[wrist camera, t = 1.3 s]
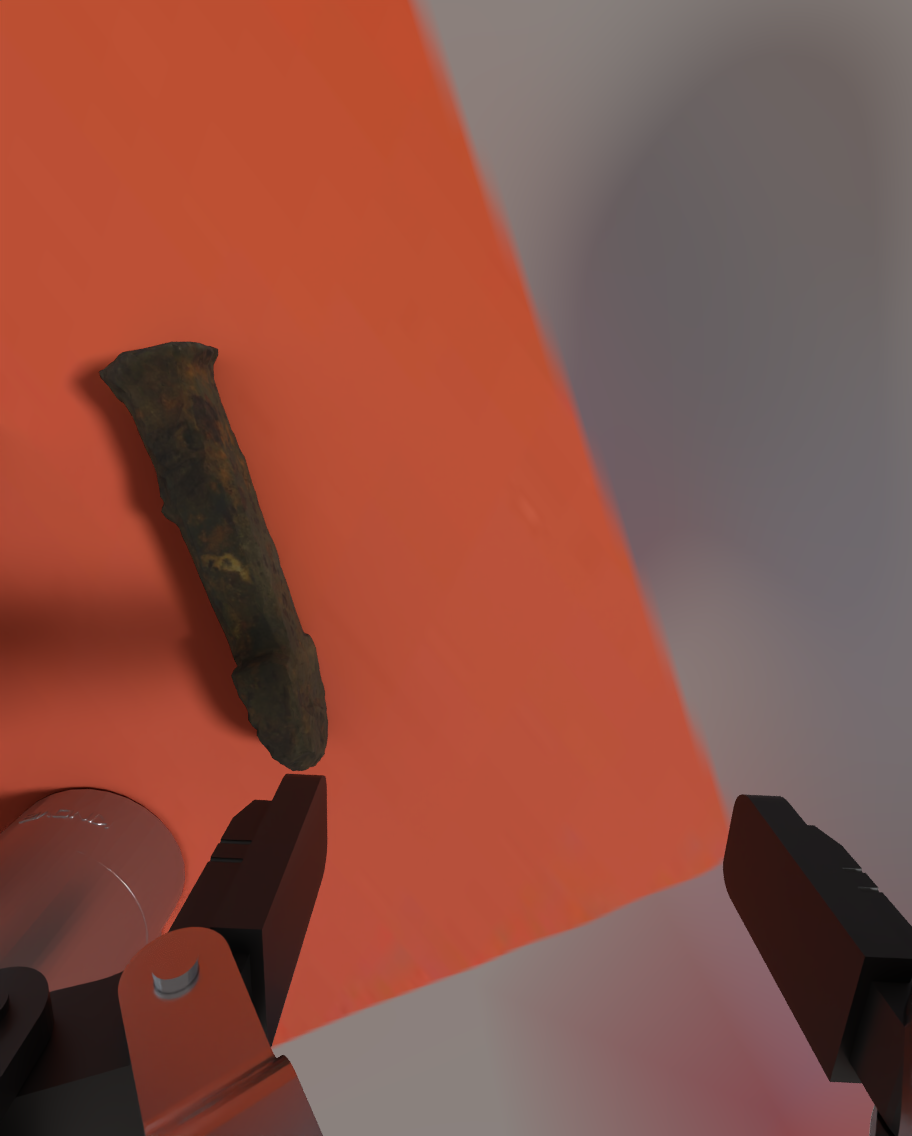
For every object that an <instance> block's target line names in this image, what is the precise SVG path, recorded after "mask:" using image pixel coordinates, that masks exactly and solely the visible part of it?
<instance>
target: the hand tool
mask: <svg viewBox="0 0 912 1136" xmlns="http://www.w3.org/2000/svg"><path fill="white" fill-rule="evenodd" d="M217 356H218V349H216V348H214V347H211V346H206V345H203V344H201V343H196V342H169V343H165V344H160V345H156V346H152V347H148V348H144V349H139V350H133V351H127V352H123V353H121V354H120V355H119V356H118V357H117V358H116V359H115V361H113V362H112V363H110V364H109V365H108V366H107V367H106V368H105V369H103V370H101V371H99V372H100V377H101V378H102V380H103V381H104V382H105V383H106V384H107V385H108V386H109V387H110V389H111V390H112V392H113V393H114V394H115V396H116V397H117V398H118V399H119V400H120V401H121V402H123V403H124V404H125V405H126V407H127V408H128V410H129V412H130V413H131V415H132V416H133V419H134V421H135V423H136V426H137V428H138V431H139V434H140V436H141V438H142V440H143V442H144V446H145V448H146V450H147V452H148V454H149V456H150V458H151V460H152V463H153V465H154V468H155V470H156V473H157V479H158V484H159V489H160V497H161V498H162V499H163V501H164V505H163V507H162V511H161V512H162V513H163V514H164V516H165V517H166V518H167V519H169V520H170V521H172V522H173V523H175V524H176V525H177V526H178V527H179V528H180V531H181V534H182V537H183V539H184V541H185V543H186V545H187V547H188V550H189V552H190V554H191V556H192V559H193V561H194V564H195V566H196V569H197V571H198V574H199V577H200V579H201V581H202V583H203V586H204V588H205V590H206V592H207V595H208V597H209V600H210V603H211V605H212V607H213V609H214V612H215V614H216V616H217V618H218V620H219V622H220V624H221V626H222V629H223V631H224V633H225V635H226V637H227V640H228V643H229V645H230V648H231V651H232V655H233V657H234V660H235V662H236V664H237V666H238V667H237V668H236V669H235V670H234V671H233V673H232V675H231V676H232V679H233V682H234V685H235V687H236V689H237V692H238V695H239V698H240V699H241V700H242V702H243V703H244V705H245V706H246V708H247V710H248V720H249V722H250V723H251V725H252V726H253V727H254V728H255V729H257V736H258V738H259V740H260V741H261V743H262V744H263V745H264V746H265V747H266V748H267V750H268V751H269V752H270V754H271V756H272V758H273V759H275V760H277V761H278V762H279V763H280V764H282V765H285V766H286V767H287V768H289V769H291V770H292V771H296V770H298V771H303V770H306V769H308V768H309V767H313V766H316V764H317V763H318V762H319V761H320V760H321V758H322V757H323V755H324V754H325V748H326V745H327V739H328V738H327V737H328V719H327V713H326V710H327V708H326V702H325V690H324V686H323V683H322V680H321V675H320V671H319V663H318V658H317V652H316V647H315V645H314V642H313V640H312V638H311V637H310V635H308V634H305V633H304V632H303V630H302V627H301V624H300V621H299V618H298V615H297V613H296V610H295V607H294V604H293V601H292V598H291V594H290V591H289V588H288V585H287V582H286V579H285V577H284V574H283V571H282V568H281V566H280V561H279V556H278V553H277V550H276V547H275V544H274V542H273V540H272V538H271V536H270V534H269V532H268V529H267V527H266V524H265V521H264V518H263V515H262V512H261V509H260V507H259V504H258V500H257V495H256V492H255V490H254V487H253V484H252V480H251V477H250V474H249V470H248V467H247V463H246V460H245V457H244V455H243V454H242V452H241V450H240V449H239V446H238V443H237V440H236V437H235V435H234V433H233V431H232V430H231V427H230V424H229V421H228V418H227V415H226V413H225V410H224V408H223V405H222V403H221V400H220V397H219V393H218V390H217V387H216V384H215V381H214V371H213V365H214V363H215V361H216V358H217Z"/></svg>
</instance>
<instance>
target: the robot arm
mask: <svg viewBox="0 0 912 1136" xmlns="http://www.w3.org/2000/svg"><path fill="white" fill-rule="evenodd" d="M326 855H327V786H326V778H325V776H323V775H302V774H286V775H285V776H284V777H283V779H282V781H281V783H280V785H279V787H278V789H277V791H276V793H275V796H274V798H273V800H272V801H267V800H254V801H252V802H251V803H250V804H249V805H248V806H246V807H245V808H244V809H243V810H242V811H240V812H239V813H238V814H237V815H236V816H234V817H233V819H232V820H231V822H230V824H229V826H228V827H227V829H226V831H225V833H224V834H223V836H222V838H221V842H220V843H218V845H217V847H216V849H215V850H214V852H213V854H212V856H211V860H210V862H208V863H207V864H206V866H205V868H204V870H203V872H202V873H201V875H200V877H199V879H198V880H197V882H196V884H195V886H194V887H193V889H192V891H191V893H190V894H189V896H188V898H187V900H186V902H185V903H184V905H183V907H182V909H181V910H180V912H179V914H178V916H177V917H176V919H175V921H174V923H173V924H172V926H171V928H170V930H169V931H168V933H166V934H164V935H162V936H161V930H162V929H163V927H164V925H165V924H166V922H167V920H168V918H169V917H170V915H171V913H172V912H173V910H174V908H175V906H176V904H177V902H178V900H179V898H180V896H181V895H182V891H183V886H184V881H185V869H184V861H183V858H182V854H181V851H180V848H179V846H178V844H177V842H176V841H175V839H174V837H173V835H172V834H171V832H170V831H169V830H168V829H167V828H166V826H165V825H164V824H163V823H162V822H161V821H160V819H158V818H157V817H156V816H155V815H153V814H152V813H151V812H150V811H148V810H147V809H146V808H145V807H143V806H141V805H139V804H137V803H135V802H134V801H132V800H130V799H128V798H126V797H123V796H120V795H117V794H114V793H111V792H106V791H99V790H93V789H76V790H67V791H63V792H59V793H55V794H52V795H50V796H48V797H45V798H43V799H41V800H39V801H37V802H36V803H35V804H34V805H32V806H31V807H30V808H29V809H28V810H26V811H25V812H24V813H23V814H22V815H21V816H20V817H18V818H17V819H16V820H15V821H14V822H13V823H12V824H11V825H10V826H8V827H7V828H6V829H5V830H4V831H3V832H2V833H1V834H0V1136H323V1135H322V1133H321V1130H320V1128H319V1125H318V1123H317V1121H316V1118H315V1116H314V1114H313V1111H312V1109H311V1107H310V1104H309V1102H308V1100H307V1098H306V1095H305V1093H304V1091H303V1088H302V1086H301V1084H300V1081H299V1079H298V1077H297V1075H296V1072H295V1070H294V1068H293V1066H292V1065H291V1063H290V1061H289V1060H288V1058H287V1057H286V1056H284V1055H282V1056H280V1057H278V1058H276V1057H275V1055H274V1054H273V1052H272V1049H271V1046H272V1043H273V1040H274V1036H275V1033H276V1030H277V1027H278V1023H279V1020H280V1017H281V1013H282V1010H283V1007H284V1003H285V1000H286V997H287V994H288V990H289V987H290V984H291V980H292V977H293V974H294V970H295V967H296V964H297V961H298V957H299V954H300V951H301V947H302V944H303V941H304V937H305V934H306V931H307V928H308V924H309V921H310V918H311V914H312V911H313V908H314V904H315V901H316V898H317V895H318V891H319V888H320V885H321V881H322V878H323V874H324V869H325V863H326ZM723 873H724V880H725V885H726V888H727V892H728V894H729V896H730V899H731V900H732V902H733V904H734V906H735V908H736V910H737V912H738V913H739V915H740V917H741V919H742V921H743V922H744V925H745V926H746V928H747V930H748V932H749V934H750V936H751V937H752V939H753V941H754V943H755V945H756V946H757V948H758V950H759V952H760V954H761V956H762V958H763V960H764V961H765V963H766V965H767V967H768V969H769V970H770V972H771V974H772V976H773V978H774V980H775V982H776V983H777V985H778V987H779V989H780V991H781V993H782V995H783V996H784V998H785V1000H786V1002H787V1004H788V1006H789V1007H790V1009H791V1011H792V1013H793V1015H794V1017H795V1018H796V1020H797V1022H798V1024H799V1025H800V1028H801V1030H802V1031H803V1033H804V1035H805V1037H806V1038H807V1041H808V1042H809V1044H810V1046H811V1048H812V1050H813V1052H814V1053H815V1055H816V1057H817V1059H818V1061H819V1063H820V1064H821V1066H822V1068H823V1070H824V1072H825V1074H826V1076H827V1077H828V1079H829V1081H830V1082H847V1083H848V1082H849V1083H862V1084H863V1085H864V1087H865V1089H866V1091H867V1092H868V1094H869V1096H870V1098H871V1099H872V1101H873V1102H874V1104H875V1105H874V1109H873V1112H872V1116H871V1123H870V1134H869V1136H912V926H911V925H910V924H909V923H908V922H907V920H906V919H905V918H904V917H903V916H902V915H901V914H900V912H899V911H898V910H897V909H896V908H895V906H894V905H893V904H892V903H891V902H890V901H889V900H888V898H887V897H886V896H885V895H884V894H883V893H882V892H879V891H878V887H877V886H876V885H875V883H873V881H872V880H871V879H870V878H869V876H868V875H867V874H866V873H862V870H861V867H860V866H859V865H858V864H857V862H856V861H855V860H854V859H853V858H852V857H851V856H850V855H849V853H848V852H847V851H846V850H845V849H844V847H843V846H842V845H840V844H839V843H837V842H836V841H835V840H833V839H832V838H830V837H829V836H828V835H827V834H825V833H824V832H822V831H821V830H820V829H818V828H817V827H815V826H813V825H812V826H811V825H807V824H806V823H805V822H804V821H803V820H802V818H801V817H800V816H799V815H798V814H797V812H796V811H795V810H794V809H793V807H792V806H791V805H790V804H789V803H788V801H787V800H786V799H784V798H783V797H781V796H762V795H739V796H738V797H737V799H736V801H735V804H734V809H733V814H732V819H731V824H730V829H729V834H728V840H727V845H726V850H725V855H724V861H723Z"/></svg>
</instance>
